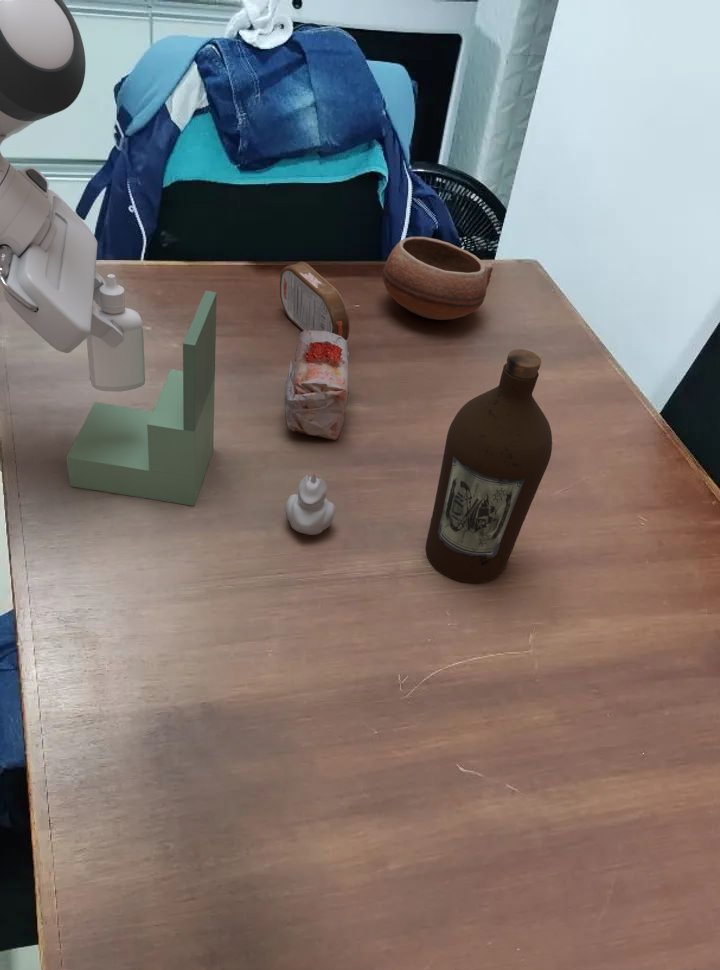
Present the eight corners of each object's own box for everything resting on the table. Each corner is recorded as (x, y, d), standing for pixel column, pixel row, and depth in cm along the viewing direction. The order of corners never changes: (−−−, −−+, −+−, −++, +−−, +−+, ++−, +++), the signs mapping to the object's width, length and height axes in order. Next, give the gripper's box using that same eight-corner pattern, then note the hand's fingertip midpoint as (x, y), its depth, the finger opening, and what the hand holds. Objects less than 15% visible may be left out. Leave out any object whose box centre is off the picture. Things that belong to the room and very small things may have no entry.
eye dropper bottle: (137, 399, 97) (132, 291, 88) (85, 388, 97) (75, 279, 88) (149, 378, 100) (146, 271, 91) (99, 368, 100) (90, 260, 91)
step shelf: (69, 486, 102) (49, 320, 87) (97, 430, 110) (83, 269, 95) (194, 506, 103) (195, 345, 88) (213, 449, 110) (216, 292, 96)
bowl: (498, 319, 142) (514, 256, 135) (437, 350, 133) (451, 285, 126) (420, 278, 148) (432, 216, 141) (357, 305, 139) (366, 240, 132)
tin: (347, 357, 129) (355, 300, 122) (328, 361, 127) (335, 304, 121) (292, 306, 136) (296, 250, 130) (273, 309, 135) (277, 253, 129)
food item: (345, 447, 114) (355, 378, 107) (281, 441, 113) (287, 371, 106) (344, 387, 123) (353, 320, 116) (285, 381, 122) (291, 312, 115)
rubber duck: (278, 537, 101) (283, 479, 95) (292, 501, 106) (298, 444, 100) (325, 548, 101) (334, 491, 95) (338, 512, 105) (346, 455, 100)
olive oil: (434, 513, 108) (484, 316, 89) (520, 542, 106) (589, 348, 88) (407, 568, 100) (456, 367, 82) (499, 600, 99) (569, 402, 81)
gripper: (16, 254, 77) (141, 363, 86) (36, 159, 90) (142, 262, 99) (-31, 301, 79) (95, 402, 88) (-5, 202, 92) (102, 299, 101)
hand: (120, 327), depth 94 cm, fingers closed on eye dropper bottle, 3 cm apart
